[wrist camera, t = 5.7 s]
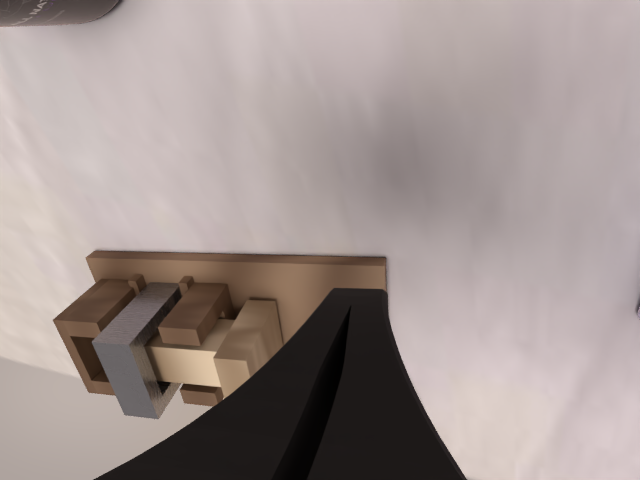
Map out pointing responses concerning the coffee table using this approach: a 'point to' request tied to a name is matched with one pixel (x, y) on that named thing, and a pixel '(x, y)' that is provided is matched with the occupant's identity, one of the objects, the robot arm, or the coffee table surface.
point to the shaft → (221, 350)
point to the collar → (138, 351)
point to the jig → (204, 298)
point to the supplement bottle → (52, 12)
